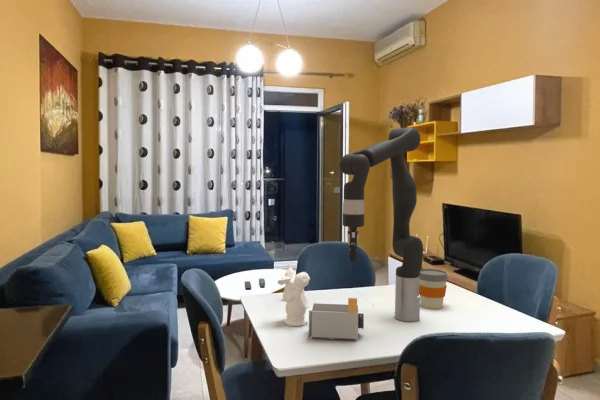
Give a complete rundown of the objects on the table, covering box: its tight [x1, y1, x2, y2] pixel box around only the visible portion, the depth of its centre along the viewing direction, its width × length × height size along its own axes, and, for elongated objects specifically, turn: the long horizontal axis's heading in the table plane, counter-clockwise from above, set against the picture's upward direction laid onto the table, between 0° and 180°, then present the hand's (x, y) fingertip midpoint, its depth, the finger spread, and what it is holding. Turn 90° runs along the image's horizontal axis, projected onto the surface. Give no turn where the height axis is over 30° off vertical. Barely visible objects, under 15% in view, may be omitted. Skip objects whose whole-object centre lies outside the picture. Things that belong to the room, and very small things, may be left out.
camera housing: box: [311, 303, 365, 341], centre depth 162 cm, size 18×8×10 cm, turn 84°
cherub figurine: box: [277, 263, 311, 327], centre depth 174 cm, size 12×12×22 cm
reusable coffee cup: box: [419, 268, 448, 310], centre depth 198 cm, size 13×13×15 cm
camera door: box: [308, 297, 359, 340], centre depth 157 cm, size 17×1×14 cm, turn 84°
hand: (352, 259), depth 158 cm, fingers open, 8 cm apart
